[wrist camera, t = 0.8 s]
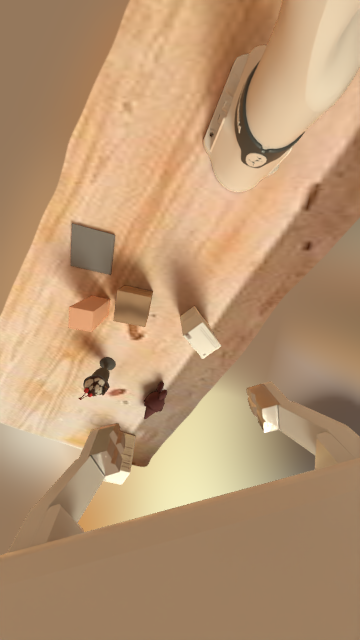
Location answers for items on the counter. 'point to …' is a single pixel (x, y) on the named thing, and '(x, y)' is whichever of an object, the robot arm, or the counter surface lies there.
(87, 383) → the sundae
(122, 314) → the lettered block
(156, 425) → the counter surface
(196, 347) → the skincare box
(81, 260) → the grey mat
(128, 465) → the supplement box
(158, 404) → the icecream
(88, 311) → the terracotta pillar
